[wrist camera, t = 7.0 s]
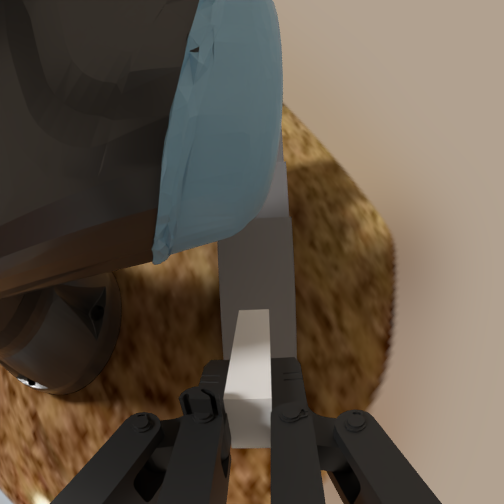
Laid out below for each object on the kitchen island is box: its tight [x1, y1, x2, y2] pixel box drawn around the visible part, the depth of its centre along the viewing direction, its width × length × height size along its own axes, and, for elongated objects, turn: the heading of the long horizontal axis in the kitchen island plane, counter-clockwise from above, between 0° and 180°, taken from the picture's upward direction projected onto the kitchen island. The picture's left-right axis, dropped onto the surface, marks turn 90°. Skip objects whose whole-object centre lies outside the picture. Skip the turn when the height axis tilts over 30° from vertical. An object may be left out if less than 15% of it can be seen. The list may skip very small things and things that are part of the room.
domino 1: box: [255, 162, 289, 218], centre depth 23 cm, size 2×5×10 cm
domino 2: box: [218, 217, 297, 360], centre depth 20 cm, size 2×5×10 cm
